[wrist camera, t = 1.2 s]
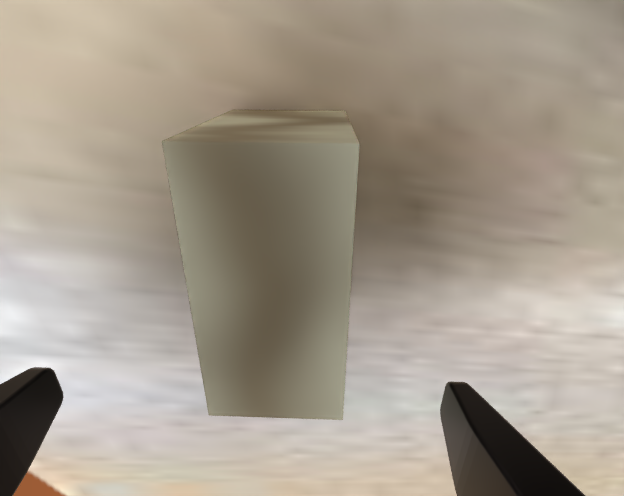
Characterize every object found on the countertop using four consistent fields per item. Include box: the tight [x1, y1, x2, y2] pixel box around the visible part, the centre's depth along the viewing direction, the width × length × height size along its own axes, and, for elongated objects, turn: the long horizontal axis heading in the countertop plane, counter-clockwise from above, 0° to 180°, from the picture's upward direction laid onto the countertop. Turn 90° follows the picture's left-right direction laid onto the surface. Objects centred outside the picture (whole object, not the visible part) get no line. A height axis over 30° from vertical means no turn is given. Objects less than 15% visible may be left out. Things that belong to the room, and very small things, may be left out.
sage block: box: [162, 110, 360, 420], centre depth 15 cm, size 5×10×8 cm, turn 0°
